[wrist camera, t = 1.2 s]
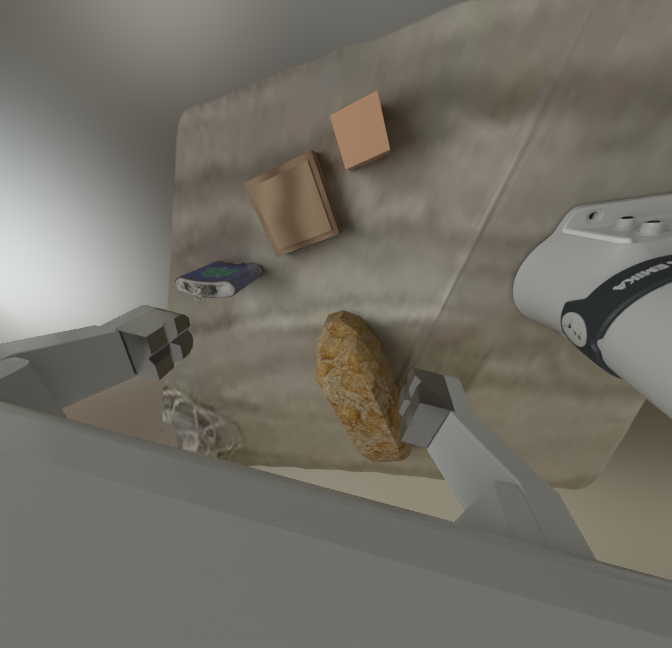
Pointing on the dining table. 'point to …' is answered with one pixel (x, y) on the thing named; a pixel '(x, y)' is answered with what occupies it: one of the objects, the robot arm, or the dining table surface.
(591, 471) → the dining table surface
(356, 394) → the bread
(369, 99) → the terracotta block
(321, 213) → the walnut plinth
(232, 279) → the flask
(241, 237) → the dining table surface
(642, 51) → the dining table surface
